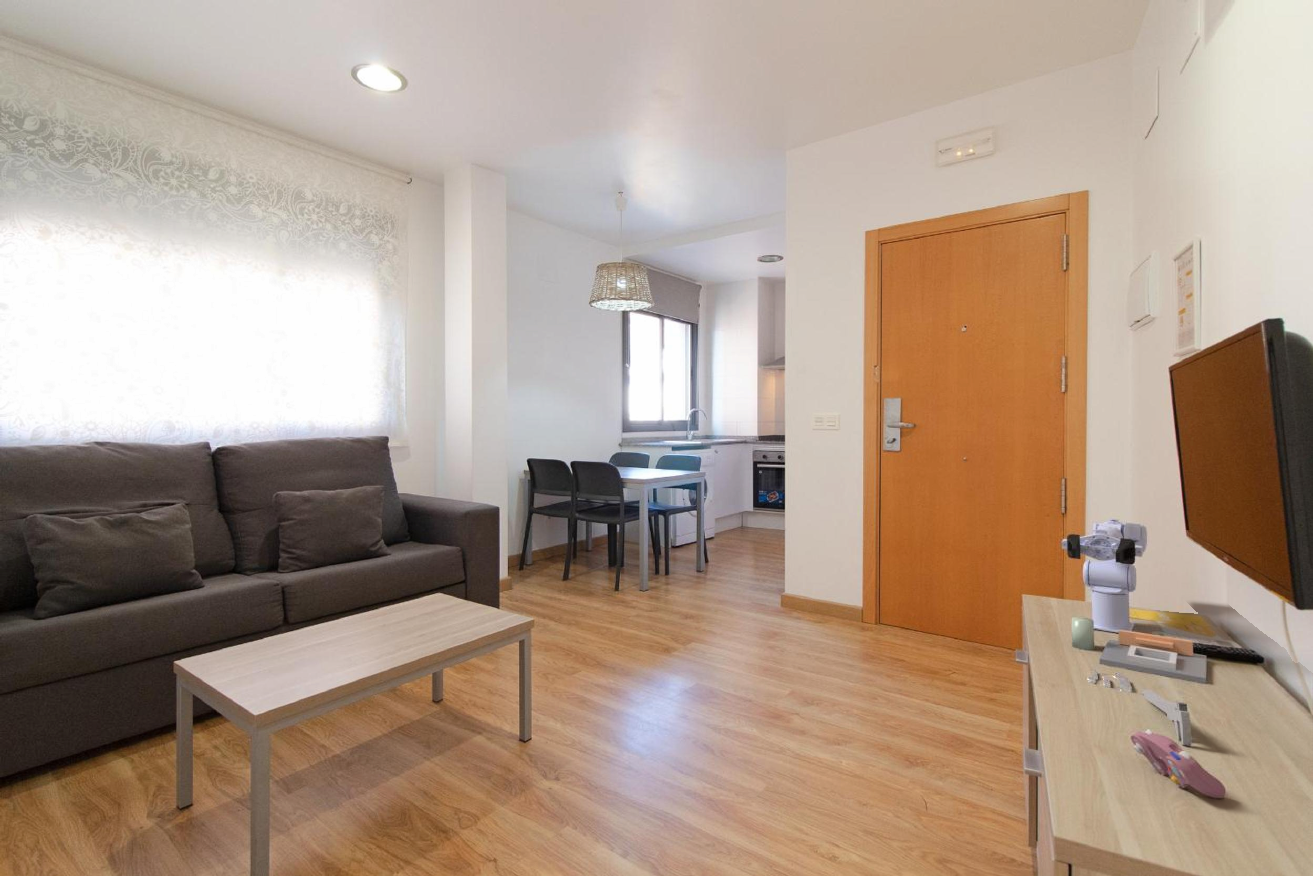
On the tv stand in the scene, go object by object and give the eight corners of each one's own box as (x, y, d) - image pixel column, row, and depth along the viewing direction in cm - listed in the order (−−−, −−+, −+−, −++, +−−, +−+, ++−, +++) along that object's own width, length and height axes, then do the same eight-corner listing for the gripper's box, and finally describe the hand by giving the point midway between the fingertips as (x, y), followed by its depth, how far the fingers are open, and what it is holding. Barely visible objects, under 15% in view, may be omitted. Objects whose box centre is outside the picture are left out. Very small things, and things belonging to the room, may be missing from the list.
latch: (1119, 642, 131) (1119, 629, 131) (1193, 654, 123) (1192, 640, 123) (1118, 645, 129) (1117, 632, 129) (1192, 657, 121) (1192, 644, 121)
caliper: (1192, 749, 90) (1191, 707, 90) (1182, 748, 90) (1181, 706, 90) (1148, 695, 108) (1147, 660, 108) (1140, 694, 109) (1139, 659, 109)
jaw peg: (1073, 642, 135) (1073, 616, 135) (1095, 646, 132) (1094, 619, 132) (1070, 647, 132) (1069, 620, 132) (1093, 651, 129) (1092, 623, 129)
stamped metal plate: (1131, 695, 109) (1131, 687, 109) (1085, 688, 113) (1084, 680, 113) (1126, 680, 116) (1125, 672, 116) (1082, 673, 119) (1081, 666, 119)
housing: (1109, 644, 133) (1108, 634, 134) (1206, 660, 123) (1206, 649, 123) (1099, 663, 122) (1099, 653, 122) (1206, 683, 112) (1205, 672, 112)
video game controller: (1141, 771, 87) (1117, 728, 87) (1169, 757, 87) (1146, 713, 87) (1201, 814, 77) (1174, 765, 77) (1233, 797, 77) (1207, 749, 77)
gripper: (1066, 523, 144) (1055, 533, 135) (1144, 528, 134) (1137, 540, 125) (1067, 552, 145) (1055, 564, 135) (1144, 560, 135) (1138, 574, 125)
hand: (1095, 555), depth 130 cm, fingers open, 7 cm apart
